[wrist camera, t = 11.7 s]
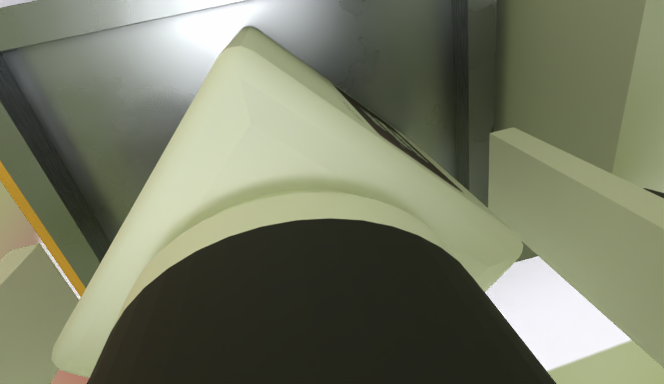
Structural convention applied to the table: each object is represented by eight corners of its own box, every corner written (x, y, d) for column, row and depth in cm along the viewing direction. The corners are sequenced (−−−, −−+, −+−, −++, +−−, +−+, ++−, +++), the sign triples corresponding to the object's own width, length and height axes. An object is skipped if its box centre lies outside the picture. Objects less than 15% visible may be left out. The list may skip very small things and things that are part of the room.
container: (246, 20, 12) (12, 234, 1) (413, 140, 15) (887, 555, 4) (143, 198, 14) (-335, 982, 3) (307, 274, 17) (401, 800, 6)
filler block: (492, -2, 13) (648, -8, 8) (684, -44, 14) (950, -76, 8) (487, 209, 17) (586, 298, 12) (634, 171, 18) (790, 240, 13)
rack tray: (-32, 25, 12) (-110, 30, 10) (690, -122, 14) (788, -151, 12) (144, 317, 19) (125, 367, 16) (621, 192, 21) (674, 218, 18)
